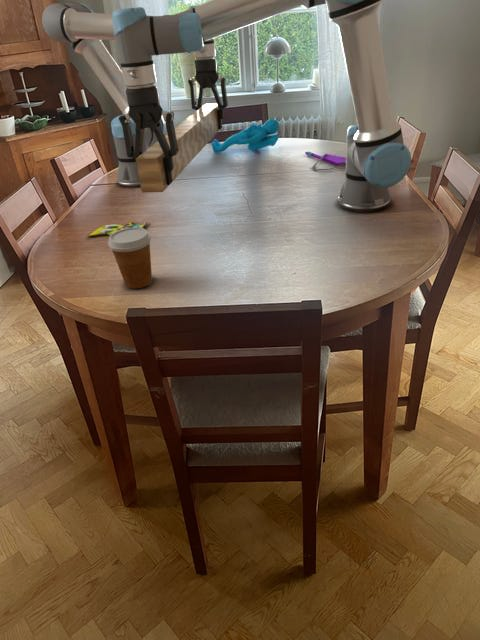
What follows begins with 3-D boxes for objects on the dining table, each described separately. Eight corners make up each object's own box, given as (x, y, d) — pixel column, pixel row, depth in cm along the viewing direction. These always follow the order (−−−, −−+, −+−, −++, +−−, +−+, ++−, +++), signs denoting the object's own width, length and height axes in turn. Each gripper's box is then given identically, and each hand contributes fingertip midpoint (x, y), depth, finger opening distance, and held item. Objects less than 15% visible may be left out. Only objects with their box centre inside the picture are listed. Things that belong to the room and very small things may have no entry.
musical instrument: (342, 175, 173) (362, 153, 185) (341, 169, 172) (361, 148, 184) (283, 174, 186) (305, 153, 198) (282, 169, 184) (305, 148, 196)
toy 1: (137, 233, 137) (87, 234, 139) (137, 236, 137) (88, 237, 139) (147, 220, 145) (100, 221, 147) (147, 223, 146) (101, 224, 148)
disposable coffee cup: (110, 289, 111) (98, 241, 105) (132, 270, 119) (122, 225, 112) (145, 294, 108) (135, 245, 101) (166, 275, 115) (157, 228, 109)
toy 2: (216, 133, 217) (279, 113, 206) (223, 156, 222) (286, 138, 212) (206, 142, 203) (273, 121, 193) (214, 166, 208) (280, 148, 198)
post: (208, 127, 183) (205, 103, 179) (222, 127, 182) (220, 103, 178) (142, 192, 122) (135, 158, 118) (162, 192, 121) (157, 158, 116)
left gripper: (176, 61, 164) (185, 132, 177) (229, 57, 161) (234, 130, 174) (182, 58, 171) (190, 127, 183) (233, 55, 167) (238, 125, 180)
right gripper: (97, 91, 112) (119, 189, 124) (174, 85, 108) (188, 187, 121) (110, 86, 118) (130, 180, 130) (183, 81, 114) (196, 178, 127)
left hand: (212, 128), depth 178 cm, fingers closed on post, 6 cm apart
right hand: (158, 183), depth 125 cm, fingers closed on post, 6 cm apart
